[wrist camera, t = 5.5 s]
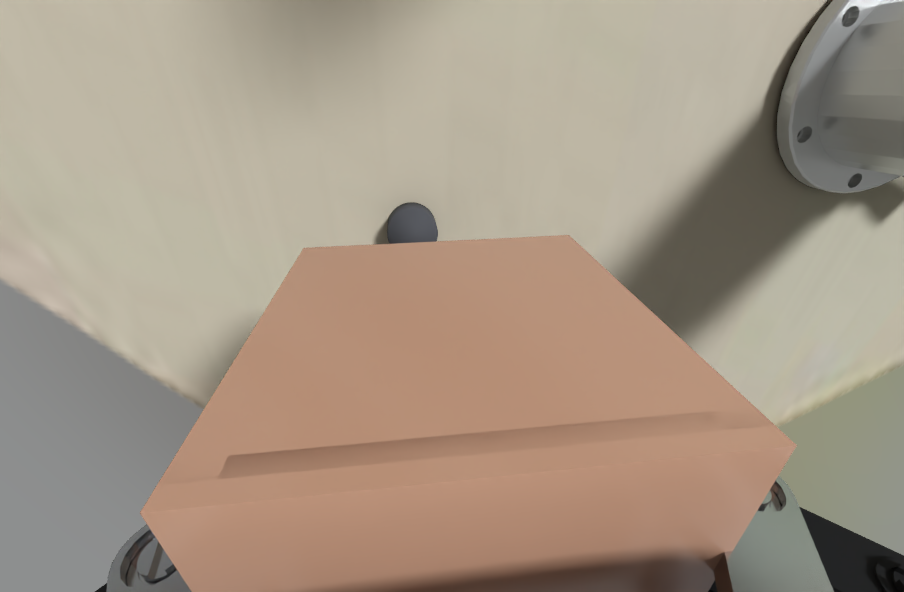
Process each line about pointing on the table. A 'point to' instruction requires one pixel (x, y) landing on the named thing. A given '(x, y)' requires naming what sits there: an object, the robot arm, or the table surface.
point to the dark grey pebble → (411, 224)
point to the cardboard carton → (463, 434)
